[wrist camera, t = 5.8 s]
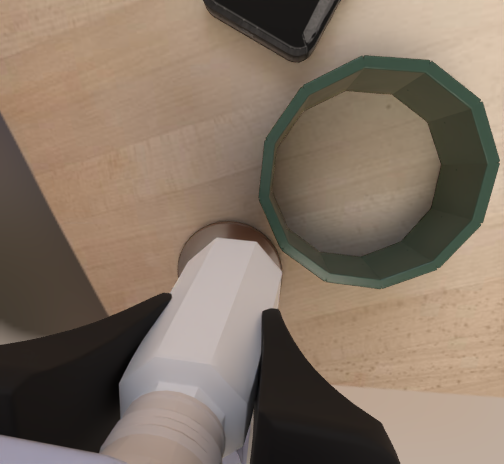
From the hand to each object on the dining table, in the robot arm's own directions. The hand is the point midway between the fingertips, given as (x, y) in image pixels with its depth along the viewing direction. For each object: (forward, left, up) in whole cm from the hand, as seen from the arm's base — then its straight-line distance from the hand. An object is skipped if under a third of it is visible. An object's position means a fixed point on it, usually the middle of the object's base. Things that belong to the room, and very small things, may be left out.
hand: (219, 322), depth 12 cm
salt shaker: (0, 0, -4) cm, 4 cm away
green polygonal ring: (+6, -7, -10) cm, 14 cm away
